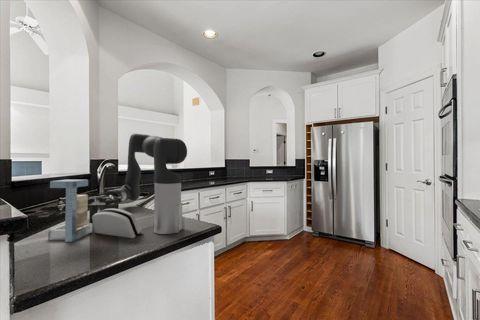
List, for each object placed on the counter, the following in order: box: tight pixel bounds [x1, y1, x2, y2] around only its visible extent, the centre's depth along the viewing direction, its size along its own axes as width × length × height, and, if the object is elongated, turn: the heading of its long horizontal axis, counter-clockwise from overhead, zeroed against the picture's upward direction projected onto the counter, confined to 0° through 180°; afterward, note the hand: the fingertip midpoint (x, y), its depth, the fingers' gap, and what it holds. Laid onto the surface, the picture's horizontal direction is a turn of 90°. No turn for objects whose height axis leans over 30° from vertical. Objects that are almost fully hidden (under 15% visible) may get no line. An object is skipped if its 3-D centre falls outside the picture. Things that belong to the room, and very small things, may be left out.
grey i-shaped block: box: [47, 179, 93, 243], centre depth 79 cm, size 9×11×18 cm
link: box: [76, 194, 89, 229], centre depth 90 cm, size 4×4×12 cm
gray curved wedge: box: [91, 207, 144, 239], centre depth 82 cm, size 17×5×10 cm, turn 71°
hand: (96, 202), depth 101 cm, fingers open, 8 cm apart
